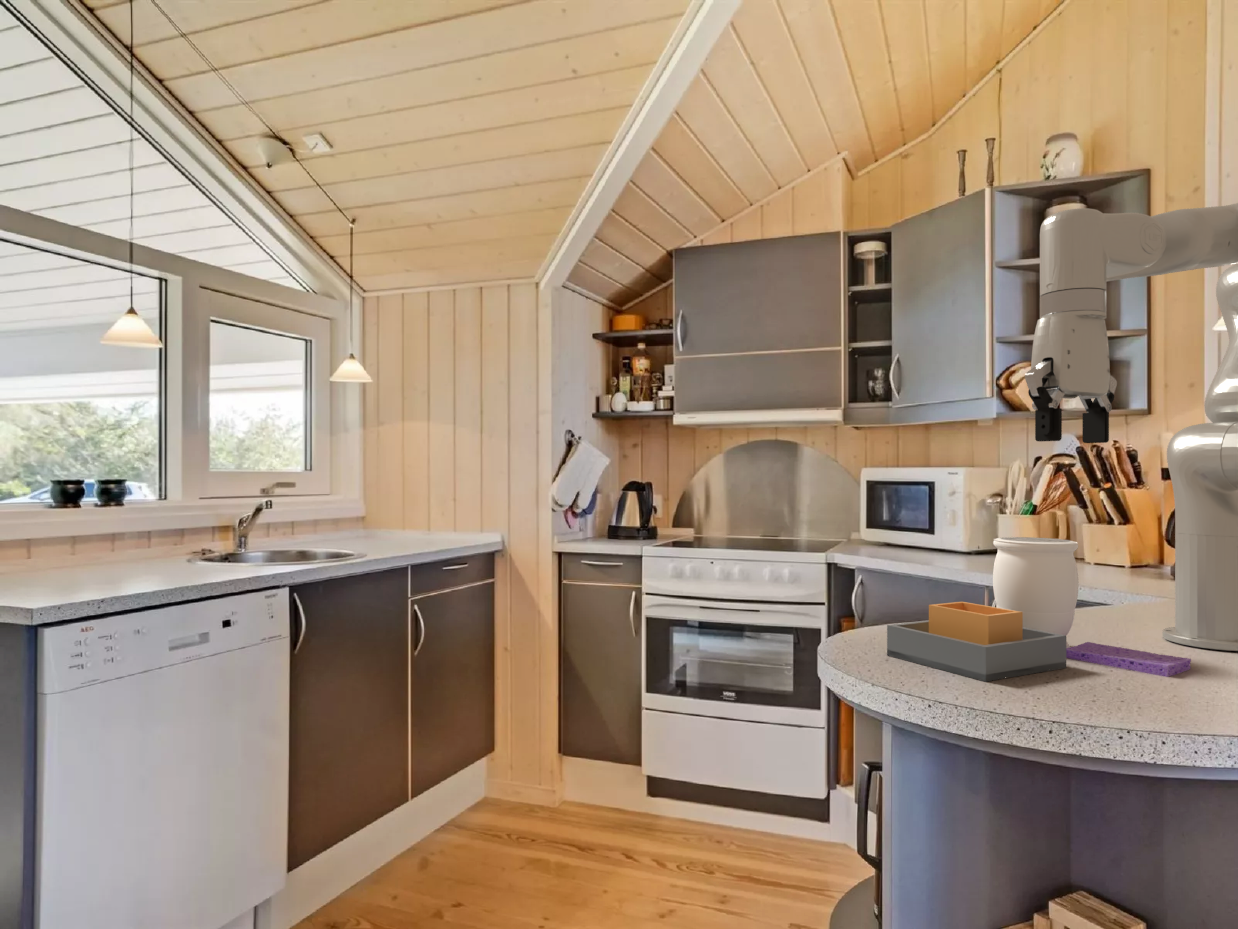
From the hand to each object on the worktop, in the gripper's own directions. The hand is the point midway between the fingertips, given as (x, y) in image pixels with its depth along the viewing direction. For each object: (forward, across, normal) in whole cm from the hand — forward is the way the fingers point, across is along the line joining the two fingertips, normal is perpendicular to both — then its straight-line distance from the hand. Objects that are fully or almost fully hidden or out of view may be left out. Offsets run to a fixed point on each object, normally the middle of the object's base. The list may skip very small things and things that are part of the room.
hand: (1072, 441), depth 104 cm
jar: (+28, -4, -8) cm, 30 cm away
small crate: (+28, +11, -6) cm, 30 cm away
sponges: (+29, -6, +3) cm, 30 cm away
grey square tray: (+28, +11, -6) cm, 31 cm away
